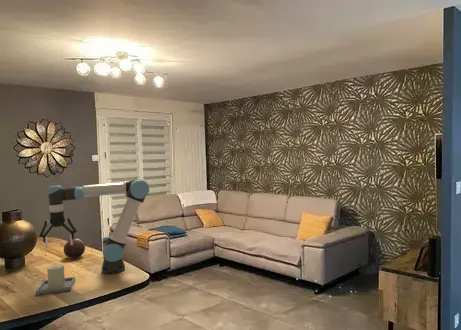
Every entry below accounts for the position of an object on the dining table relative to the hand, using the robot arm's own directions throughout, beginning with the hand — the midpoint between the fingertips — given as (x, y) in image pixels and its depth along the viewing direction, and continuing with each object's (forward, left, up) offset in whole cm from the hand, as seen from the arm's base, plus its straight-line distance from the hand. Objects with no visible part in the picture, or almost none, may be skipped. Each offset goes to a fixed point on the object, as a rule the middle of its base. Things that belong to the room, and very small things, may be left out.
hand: (59, 246), depth 217 cm
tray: (+2, +5, -23) cm, 24 cm away
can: (+2, +5, -23) cm, 23 cm away
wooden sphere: (+1, -59, -24) cm, 63 cm away
